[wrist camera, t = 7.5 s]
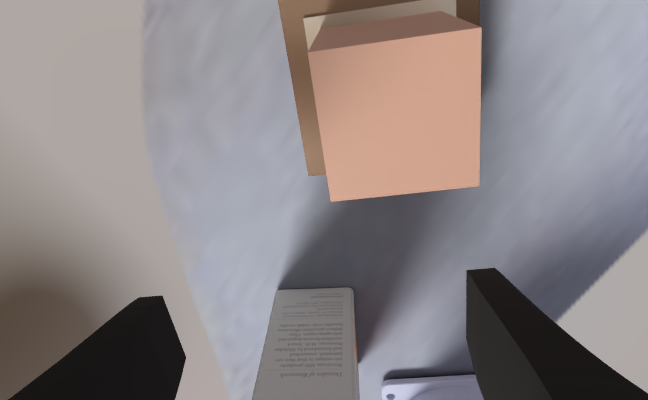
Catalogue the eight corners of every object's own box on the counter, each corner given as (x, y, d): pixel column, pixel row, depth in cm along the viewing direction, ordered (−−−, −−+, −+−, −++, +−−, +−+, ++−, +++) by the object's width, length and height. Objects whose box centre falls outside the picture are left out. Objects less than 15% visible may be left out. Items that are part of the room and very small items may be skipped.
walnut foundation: (462, 135, 19) (477, 158, 17) (313, 153, 20) (308, 177, 17) (461, -34, 16) (480, -35, 14) (286, -6, 17) (276, -3, 14)
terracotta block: (443, 128, 16) (479, 186, 12) (335, 141, 17) (330, 201, 12) (440, 11, 14) (481, 27, 10) (320, 28, 15) (307, 52, 10)
